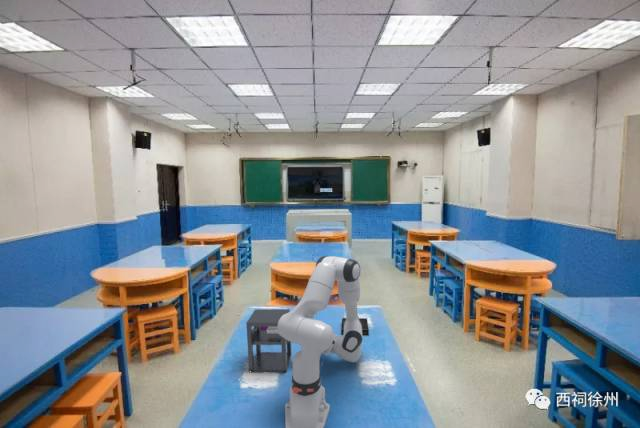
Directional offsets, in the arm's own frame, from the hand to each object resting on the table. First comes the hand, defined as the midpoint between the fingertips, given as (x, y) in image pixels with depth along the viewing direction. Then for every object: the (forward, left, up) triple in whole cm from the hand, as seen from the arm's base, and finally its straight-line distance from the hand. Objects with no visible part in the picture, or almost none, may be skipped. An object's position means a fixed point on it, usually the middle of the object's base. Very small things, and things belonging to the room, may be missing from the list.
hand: (307, 328), depth 160 cm
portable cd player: (+39, -26, -20) cm, 51 cm away
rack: (0, +20, -19) cm, 27 cm away
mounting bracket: (+29, +26, -19) cm, 43 cm away
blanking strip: (0, +9, -1) cm, 9 cm away
